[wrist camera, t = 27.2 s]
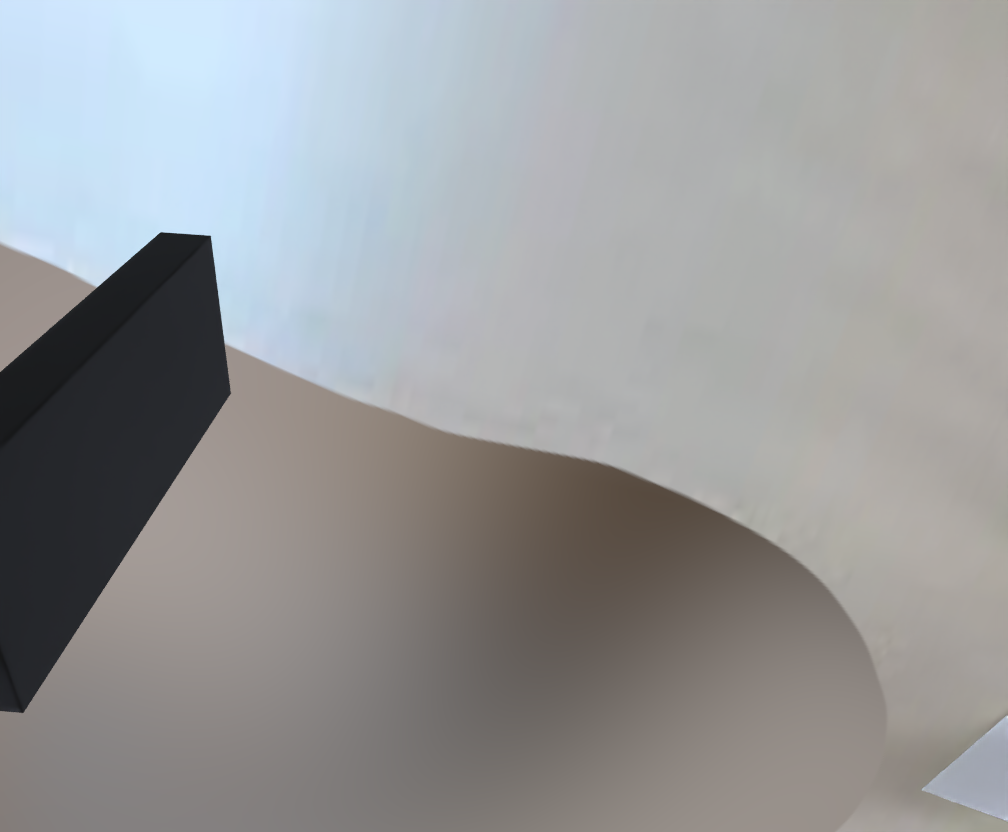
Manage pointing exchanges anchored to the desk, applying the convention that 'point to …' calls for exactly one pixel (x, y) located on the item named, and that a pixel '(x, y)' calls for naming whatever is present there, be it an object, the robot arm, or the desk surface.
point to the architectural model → (978, 775)
